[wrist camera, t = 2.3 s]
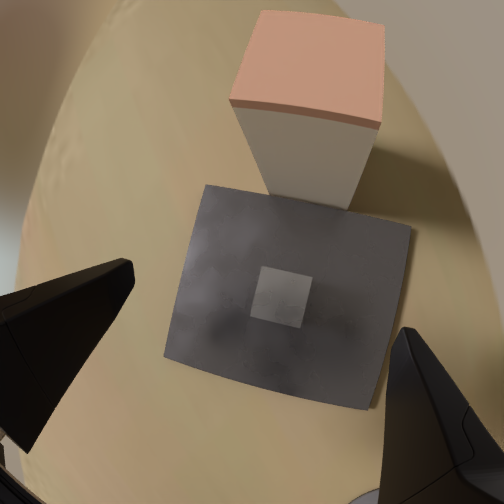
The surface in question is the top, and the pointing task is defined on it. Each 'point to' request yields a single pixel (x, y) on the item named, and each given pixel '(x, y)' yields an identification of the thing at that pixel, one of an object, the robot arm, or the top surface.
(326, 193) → the pink-topped tall block
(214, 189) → the post plate
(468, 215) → the top surface
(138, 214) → the top surface
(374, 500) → the slate coaster
